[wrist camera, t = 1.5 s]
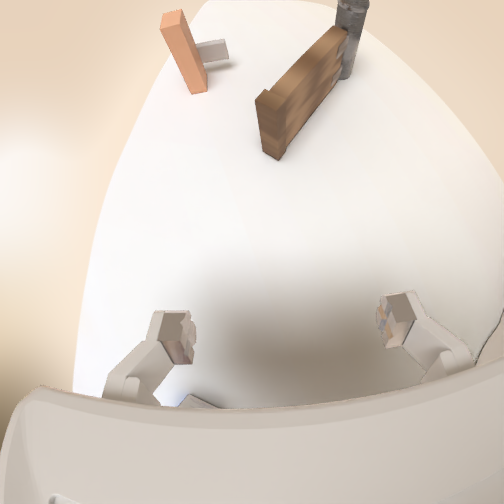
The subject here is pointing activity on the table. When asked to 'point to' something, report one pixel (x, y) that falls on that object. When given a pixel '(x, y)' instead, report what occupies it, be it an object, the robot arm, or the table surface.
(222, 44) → the latch post
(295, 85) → the gate
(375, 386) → the table surface
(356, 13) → the hinge post
